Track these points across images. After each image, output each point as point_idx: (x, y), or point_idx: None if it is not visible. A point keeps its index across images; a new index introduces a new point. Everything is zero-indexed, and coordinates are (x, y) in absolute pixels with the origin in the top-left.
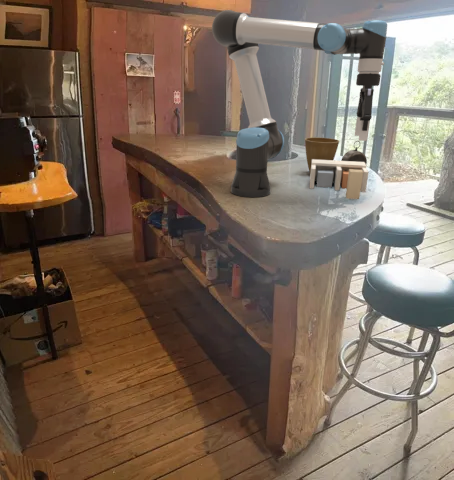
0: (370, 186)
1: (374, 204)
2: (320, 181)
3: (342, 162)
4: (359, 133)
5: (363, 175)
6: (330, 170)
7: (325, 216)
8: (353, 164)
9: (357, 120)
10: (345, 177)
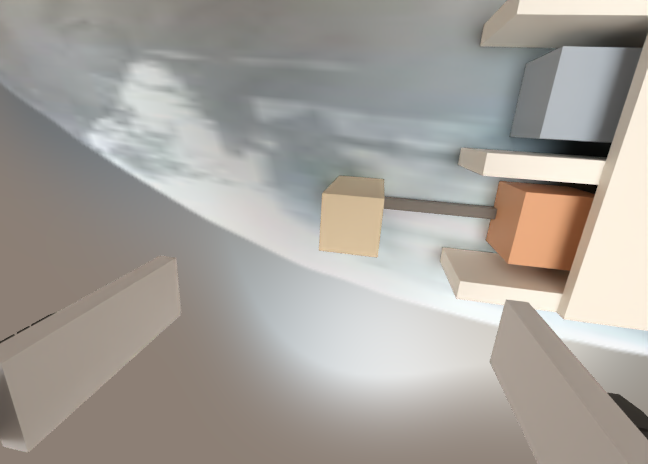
0: None
1: (285, 252)
2: (534, 76)
3: None
4: (129, 280)
5: (464, 273)
6: None
7: (120, 77)
8: (600, 259)
9: (600, 443)
10: (516, 199)
